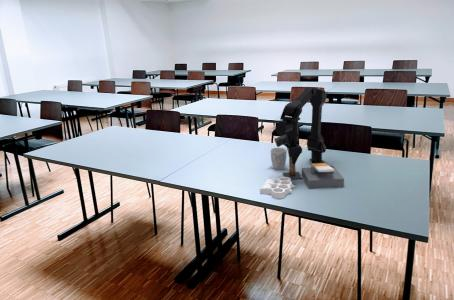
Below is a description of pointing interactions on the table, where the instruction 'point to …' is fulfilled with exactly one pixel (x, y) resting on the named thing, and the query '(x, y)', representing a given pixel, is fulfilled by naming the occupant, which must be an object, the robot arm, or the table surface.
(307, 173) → the grey square block
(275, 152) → the mug
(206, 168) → the table surface
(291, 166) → the walnut cylinder
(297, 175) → the black mat
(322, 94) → the robot arm
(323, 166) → the white and orange panel
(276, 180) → the white lobed tray
